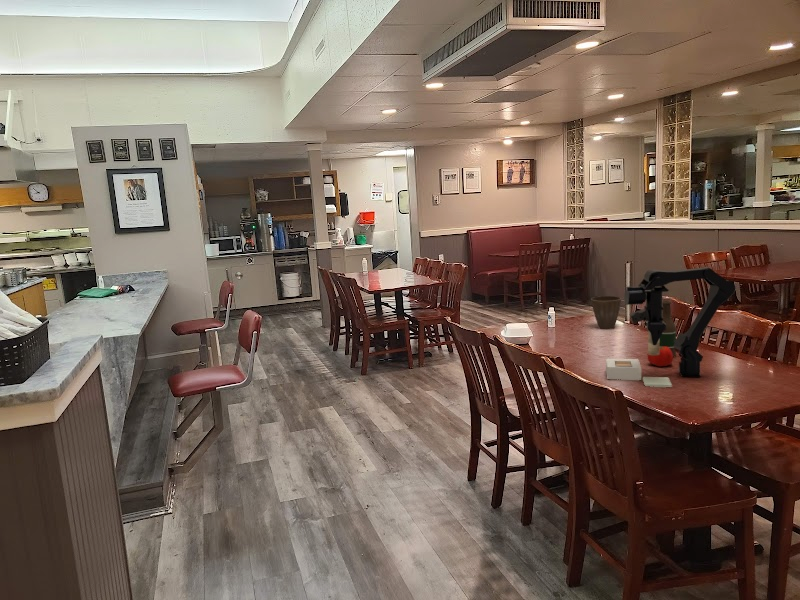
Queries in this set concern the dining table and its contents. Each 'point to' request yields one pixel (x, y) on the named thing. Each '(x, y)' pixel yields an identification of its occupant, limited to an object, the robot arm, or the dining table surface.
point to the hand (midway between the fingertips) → (653, 343)
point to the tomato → (661, 357)
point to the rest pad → (657, 381)
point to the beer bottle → (668, 328)
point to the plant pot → (606, 310)
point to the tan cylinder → (652, 346)
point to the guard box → (623, 369)
